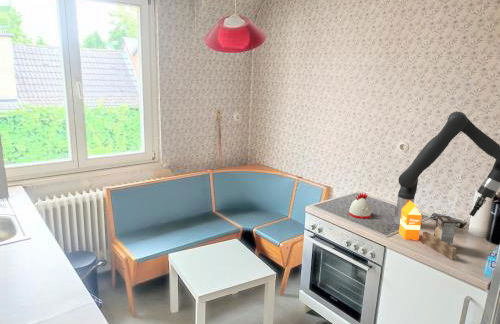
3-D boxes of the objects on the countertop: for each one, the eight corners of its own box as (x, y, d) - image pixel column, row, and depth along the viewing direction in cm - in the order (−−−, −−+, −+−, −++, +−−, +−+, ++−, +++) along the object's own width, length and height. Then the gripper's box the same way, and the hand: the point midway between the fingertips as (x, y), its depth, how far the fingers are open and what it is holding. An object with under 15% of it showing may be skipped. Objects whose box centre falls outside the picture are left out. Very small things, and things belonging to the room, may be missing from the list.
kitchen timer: (375, 217, 220) (377, 195, 216) (356, 219, 216) (358, 197, 213) (362, 210, 233) (364, 189, 229) (344, 211, 229) (346, 190, 226)
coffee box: (432, 242, 187) (436, 214, 183) (444, 243, 186) (449, 215, 182) (438, 250, 178) (443, 221, 174) (452, 251, 177) (456, 222, 173)
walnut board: (421, 242, 187) (423, 231, 186) (424, 241, 188) (426, 231, 186) (451, 260, 168) (453, 249, 167) (454, 259, 169) (456, 248, 167)
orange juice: (412, 233, 198) (416, 200, 194) (418, 239, 190) (423, 206, 185) (398, 232, 199) (402, 199, 194) (404, 239, 190) (408, 205, 185)
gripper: (481, 184, 189) (464, 210, 193) (481, 184, 178) (463, 212, 182) (496, 190, 185) (478, 218, 189) (497, 191, 174) (478, 220, 178)
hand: (471, 215), depth 185 cm, fingers closed
